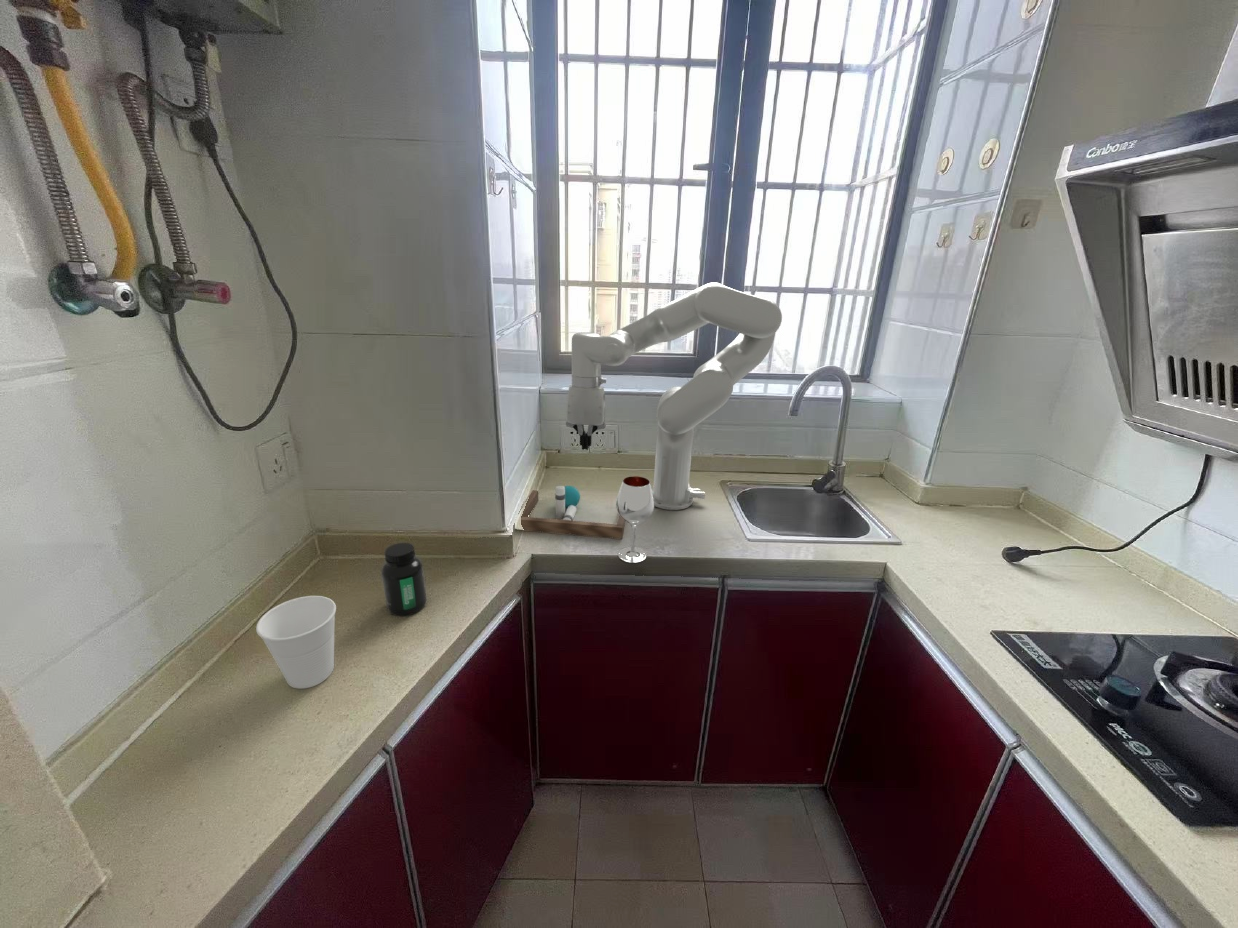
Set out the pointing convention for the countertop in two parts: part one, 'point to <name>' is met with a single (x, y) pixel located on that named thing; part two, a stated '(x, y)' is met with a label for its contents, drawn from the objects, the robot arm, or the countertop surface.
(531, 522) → the wooden u-shaped frame
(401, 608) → the supplement bottle
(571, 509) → the pin
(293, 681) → the cup
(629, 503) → the wineglass
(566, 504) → the ball
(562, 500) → the pin
